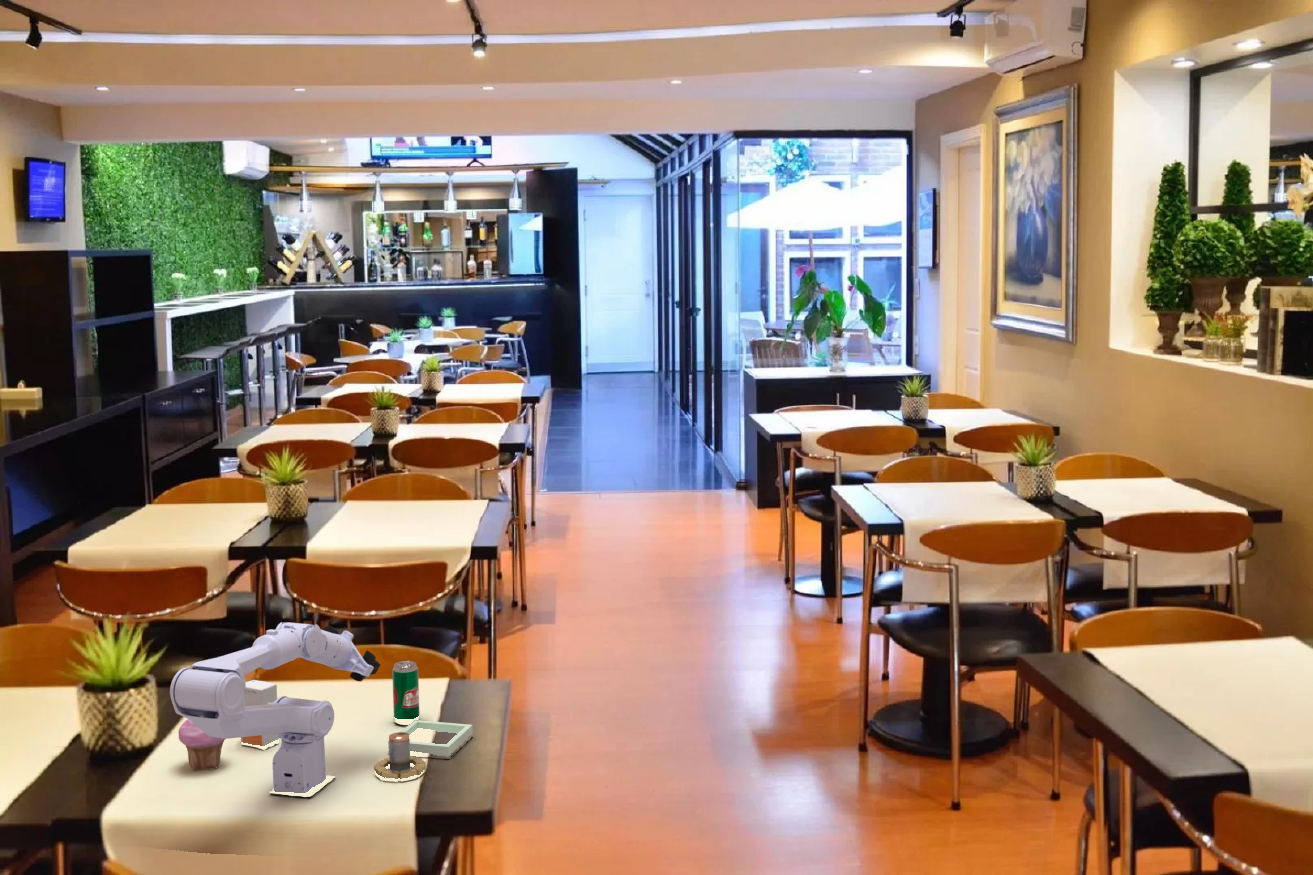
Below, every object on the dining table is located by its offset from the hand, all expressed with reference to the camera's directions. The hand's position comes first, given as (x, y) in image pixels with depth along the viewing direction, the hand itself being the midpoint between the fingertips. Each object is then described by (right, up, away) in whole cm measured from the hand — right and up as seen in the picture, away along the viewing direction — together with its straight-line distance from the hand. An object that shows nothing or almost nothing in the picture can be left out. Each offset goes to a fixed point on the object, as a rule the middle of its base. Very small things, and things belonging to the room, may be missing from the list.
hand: (361, 658), depth 251 cm
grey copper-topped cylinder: (+10, -19, -12) cm, 24 cm away
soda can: (+6, -15, +15) cm, 22 cm away
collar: (+10, -19, -12) cm, 24 cm away
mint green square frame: (+13, -17, +2) cm, 21 cm away
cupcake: (-27, -19, -8) cm, 33 cm away
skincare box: (-20, -17, +3) cm, 26 cm away
